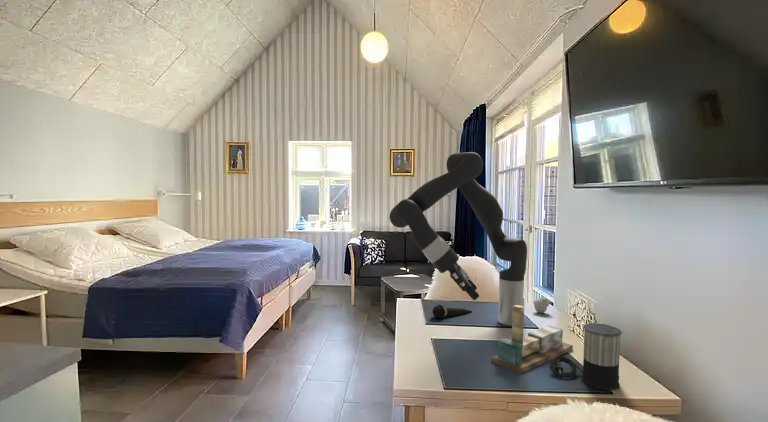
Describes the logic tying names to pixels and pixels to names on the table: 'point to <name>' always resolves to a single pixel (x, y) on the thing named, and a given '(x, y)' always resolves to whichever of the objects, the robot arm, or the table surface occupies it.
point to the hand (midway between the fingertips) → (475, 293)
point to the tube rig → (549, 350)
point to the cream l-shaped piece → (528, 343)
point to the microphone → (448, 311)
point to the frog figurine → (541, 304)
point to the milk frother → (596, 357)
